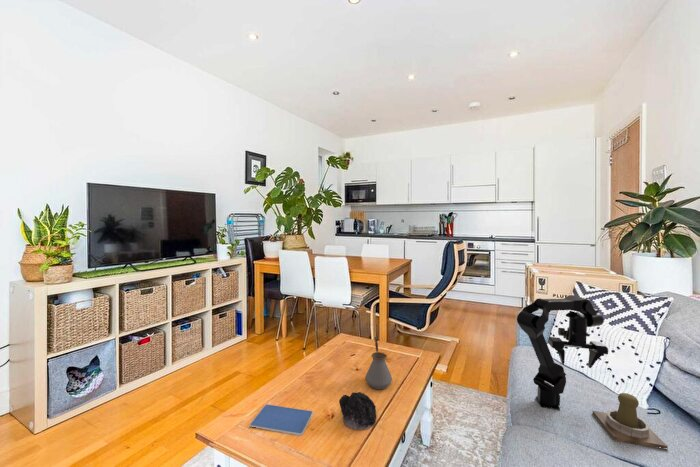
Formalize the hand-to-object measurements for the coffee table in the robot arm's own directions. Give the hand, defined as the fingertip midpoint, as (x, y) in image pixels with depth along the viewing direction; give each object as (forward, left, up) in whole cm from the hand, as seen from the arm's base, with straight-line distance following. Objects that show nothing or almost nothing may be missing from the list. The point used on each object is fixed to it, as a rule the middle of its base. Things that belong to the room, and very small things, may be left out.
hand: (576, 366), depth 121 cm
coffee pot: (-79, -9, -13) cm, 81 cm away
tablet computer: (-106, -46, -14) cm, 116 cm away
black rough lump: (-80, -38, -13) cm, 90 cm away
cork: (+9, -17, -12) cm, 23 cm away
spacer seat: (+9, -17, -13) cm, 23 cm away
